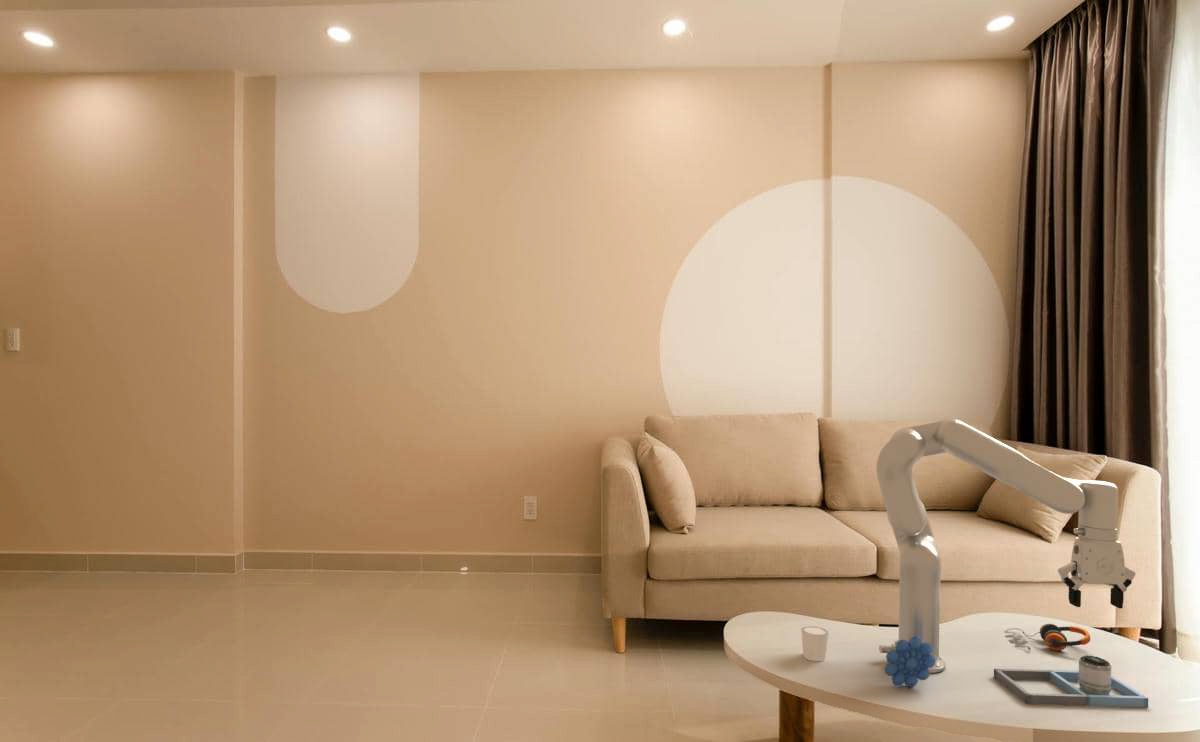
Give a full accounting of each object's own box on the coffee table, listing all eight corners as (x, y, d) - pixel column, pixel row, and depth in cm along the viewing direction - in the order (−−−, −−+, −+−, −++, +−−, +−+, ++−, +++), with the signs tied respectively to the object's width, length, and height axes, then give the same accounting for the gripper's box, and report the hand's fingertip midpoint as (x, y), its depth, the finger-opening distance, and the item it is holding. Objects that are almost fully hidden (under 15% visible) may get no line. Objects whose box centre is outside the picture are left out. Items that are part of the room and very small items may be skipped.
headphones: (999, 620, 204) (1077, 614, 197) (1003, 638, 204) (1082, 633, 197) (1010, 641, 189) (1096, 635, 182) (1015, 661, 188) (1101, 656, 181)
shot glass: (799, 660, 180) (799, 633, 180) (802, 650, 186) (802, 624, 186) (827, 664, 177) (827, 637, 177) (829, 654, 184) (829, 628, 184)
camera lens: (1088, 684, 169) (1089, 651, 169) (1116, 695, 163) (1117, 662, 163) (1072, 688, 166) (1072, 655, 166) (1100, 700, 160) (1100, 666, 160)
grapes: (926, 679, 170) (927, 630, 170) (939, 692, 163) (940, 641, 163) (878, 677, 170) (879, 628, 170) (888, 690, 163) (889, 639, 163)
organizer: (1027, 703, 158) (1027, 695, 158) (993, 676, 172) (993, 668, 172) (1148, 707, 157) (1148, 698, 157) (1104, 679, 171) (1104, 671, 171)
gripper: (1070, 536, 161) (1068, 610, 161) (1146, 538, 161) (1144, 612, 161) (1050, 529, 169) (1048, 599, 169) (1123, 531, 168) (1121, 601, 168)
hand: (1095, 605), depth 165 cm, fingers open, 9 cm apart
